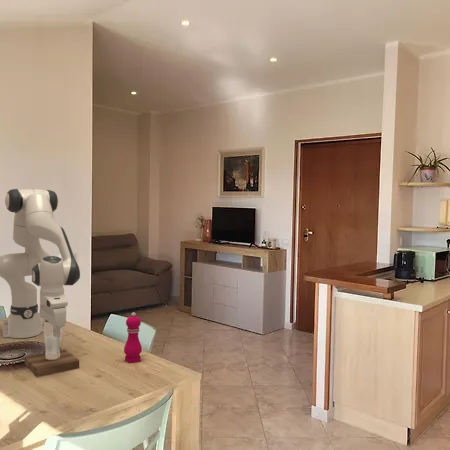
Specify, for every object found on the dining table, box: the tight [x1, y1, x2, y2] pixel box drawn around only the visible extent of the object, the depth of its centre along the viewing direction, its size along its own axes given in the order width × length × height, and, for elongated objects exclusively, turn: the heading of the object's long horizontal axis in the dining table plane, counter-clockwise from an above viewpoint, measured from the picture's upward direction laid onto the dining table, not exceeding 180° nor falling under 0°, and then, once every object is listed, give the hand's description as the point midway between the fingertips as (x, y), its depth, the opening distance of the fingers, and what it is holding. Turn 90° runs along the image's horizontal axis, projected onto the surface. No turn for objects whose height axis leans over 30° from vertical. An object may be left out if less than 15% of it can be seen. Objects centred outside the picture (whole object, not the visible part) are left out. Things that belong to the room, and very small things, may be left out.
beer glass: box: [43, 320, 63, 361], centre depth 183 cm, size 7×7×15 cm
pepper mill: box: [123, 312, 143, 364], centre depth 191 cm, size 7×7×20 cm
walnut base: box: [24, 348, 80, 378], centre depth 183 cm, size 16×16×3 cm
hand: (51, 333), depth 182 cm, fingers open, 8 cm apart
